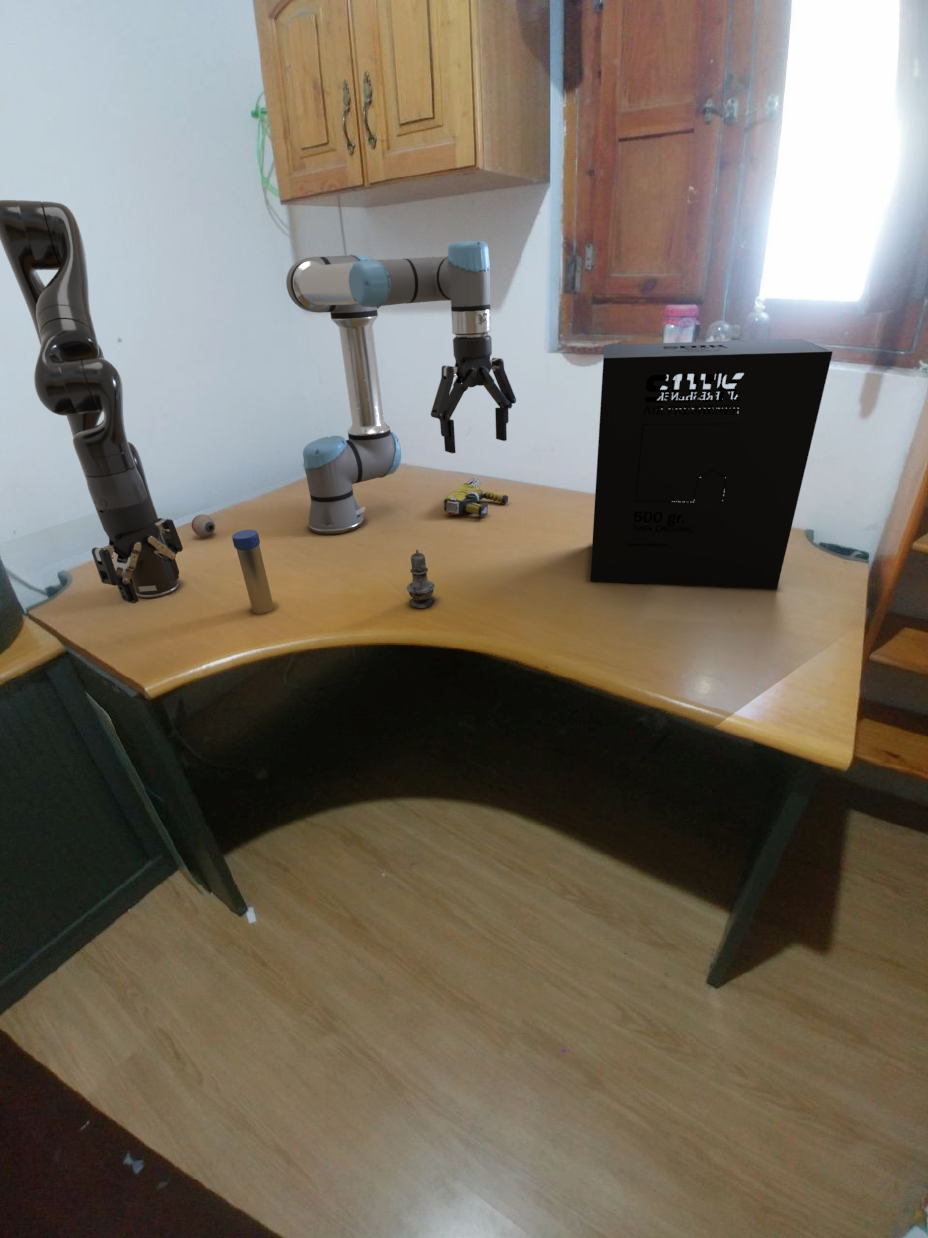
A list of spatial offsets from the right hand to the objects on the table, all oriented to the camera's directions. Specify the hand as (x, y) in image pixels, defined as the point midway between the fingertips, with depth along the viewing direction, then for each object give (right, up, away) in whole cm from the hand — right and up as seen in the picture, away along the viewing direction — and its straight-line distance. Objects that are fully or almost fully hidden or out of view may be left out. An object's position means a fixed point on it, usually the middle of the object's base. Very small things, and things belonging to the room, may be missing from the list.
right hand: (476, 445), depth 127 cm
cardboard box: (+45, -25, +9) cm, 52 cm away
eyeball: (-74, -14, +40) cm, 85 cm away
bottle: (-45, -34, +1) cm, 57 cm away
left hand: (-55, -32, -25) cm, 68 cm away
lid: (-46, -20, -7) cm, 51 cm away
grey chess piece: (-11, -33, 0) cm, 35 cm away
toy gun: (+2, -3, +50) cm, 50 cm away
